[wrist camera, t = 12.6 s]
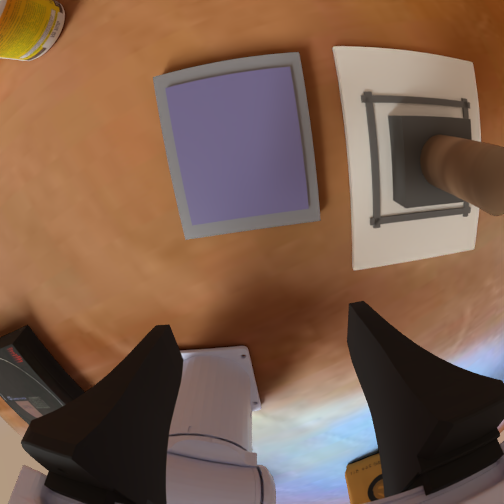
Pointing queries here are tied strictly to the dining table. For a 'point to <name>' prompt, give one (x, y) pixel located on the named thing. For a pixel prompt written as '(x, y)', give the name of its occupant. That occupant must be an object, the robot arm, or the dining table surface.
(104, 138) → the dining table surface
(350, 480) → the coffee package
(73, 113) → the dining table surface
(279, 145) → the ink pad
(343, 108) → the marked board
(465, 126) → the stamp
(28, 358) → the portable cd player
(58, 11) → the supplement bottle
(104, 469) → the robot arm
